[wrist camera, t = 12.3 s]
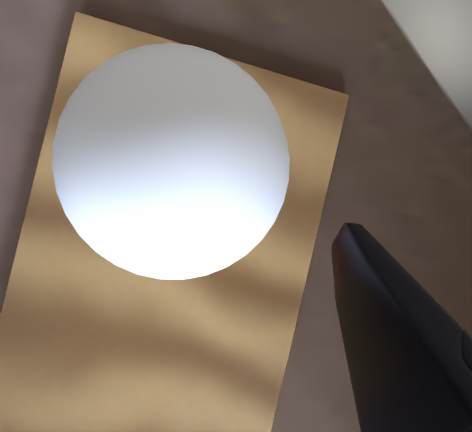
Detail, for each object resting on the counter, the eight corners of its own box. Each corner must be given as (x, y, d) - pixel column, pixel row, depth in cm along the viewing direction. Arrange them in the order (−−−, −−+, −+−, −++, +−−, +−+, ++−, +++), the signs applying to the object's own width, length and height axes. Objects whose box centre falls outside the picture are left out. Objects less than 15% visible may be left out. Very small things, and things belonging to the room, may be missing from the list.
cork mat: (259, 464, 19) (262, 472, 19) (-24, 425, 17) (-31, 433, 17) (345, 97, 20) (351, 94, 19) (78, 15, 18) (74, 9, 17)
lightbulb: (148, 269, 18) (99, 365, 7) (90, 153, 17) (-63, 60, 6) (260, 214, 19) (373, 221, 8) (207, 102, 18) (248, -61, 7)
